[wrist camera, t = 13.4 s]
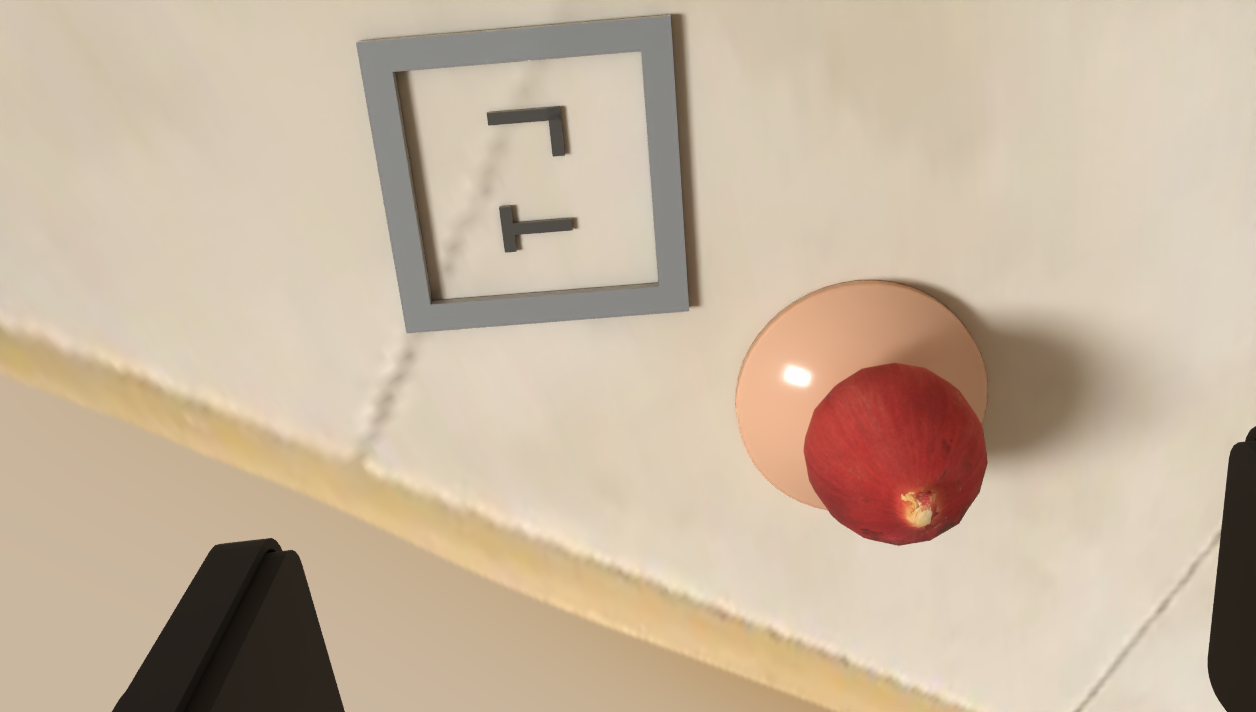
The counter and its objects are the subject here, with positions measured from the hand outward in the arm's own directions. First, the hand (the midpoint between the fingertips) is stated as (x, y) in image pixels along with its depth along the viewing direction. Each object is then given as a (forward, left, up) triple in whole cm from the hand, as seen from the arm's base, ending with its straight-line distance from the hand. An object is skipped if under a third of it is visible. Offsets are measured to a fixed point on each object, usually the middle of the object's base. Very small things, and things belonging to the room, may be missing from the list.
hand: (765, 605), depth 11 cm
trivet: (-6, +11, -27) cm, 30 cm away
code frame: (+5, +2, -27) cm, 28 cm away
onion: (-7, +11, -27) cm, 30 cm away
